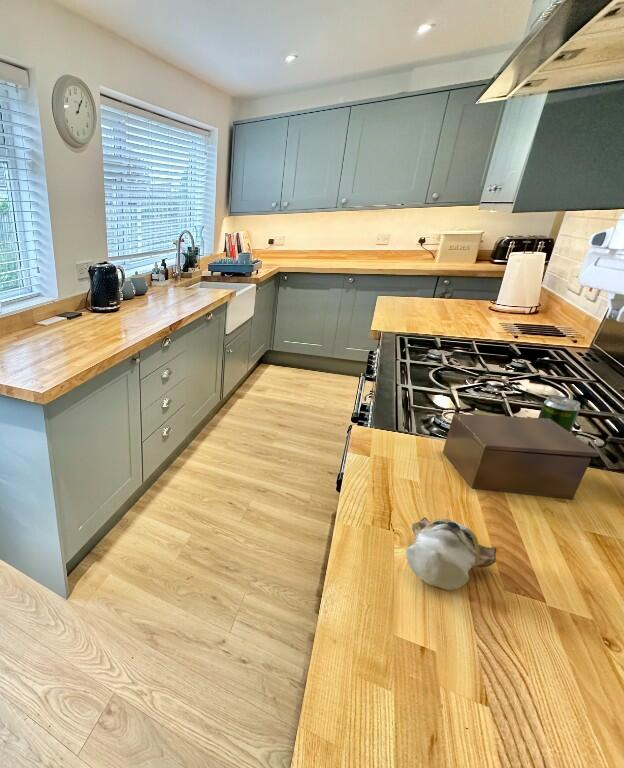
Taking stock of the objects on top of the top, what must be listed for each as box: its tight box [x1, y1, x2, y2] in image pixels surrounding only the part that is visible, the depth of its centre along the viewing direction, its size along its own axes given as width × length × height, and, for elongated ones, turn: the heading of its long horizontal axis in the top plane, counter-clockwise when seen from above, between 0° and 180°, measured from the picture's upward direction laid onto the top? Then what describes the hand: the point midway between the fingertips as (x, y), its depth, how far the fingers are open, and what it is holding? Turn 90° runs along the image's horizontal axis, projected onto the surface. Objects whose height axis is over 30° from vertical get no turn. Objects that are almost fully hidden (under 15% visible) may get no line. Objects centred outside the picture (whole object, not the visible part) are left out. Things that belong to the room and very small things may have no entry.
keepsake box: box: [442, 417, 592, 500], centre depth 83 cm, size 16×14×9 cm
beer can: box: [537, 395, 581, 434], centre depth 89 cm, size 5×5×12 cm
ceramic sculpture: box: [405, 516, 497, 591], centre depth 63 cm, size 11×9×15 cm
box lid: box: [452, 413, 600, 458], centre depth 81 cm, size 16×14×1 cm
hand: (617, 320), depth 73 cm, fingers closed
